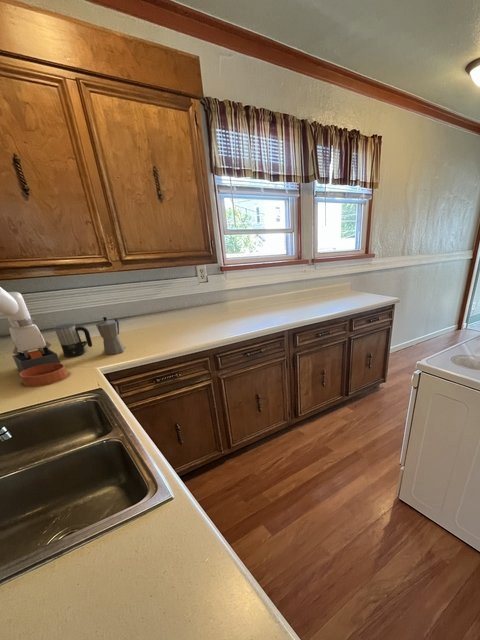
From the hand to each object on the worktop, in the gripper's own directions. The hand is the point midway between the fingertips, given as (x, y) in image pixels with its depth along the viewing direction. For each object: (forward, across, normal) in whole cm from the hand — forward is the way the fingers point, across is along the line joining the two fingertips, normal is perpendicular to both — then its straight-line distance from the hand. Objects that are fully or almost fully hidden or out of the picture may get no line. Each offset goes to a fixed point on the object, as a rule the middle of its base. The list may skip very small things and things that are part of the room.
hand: (38, 363), depth 145 cm
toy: (+1, 0, 0) cm, 1 cm away
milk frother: (+4, -20, -16) cm, 26 cm away
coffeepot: (+4, -33, 0) cm, 33 cm away
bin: (+3, 0, 0) cm, 3 cm away
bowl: (+3, +2, +16) cm, 16 cm away
